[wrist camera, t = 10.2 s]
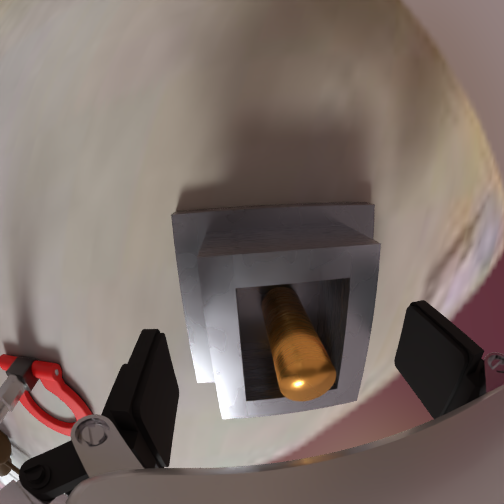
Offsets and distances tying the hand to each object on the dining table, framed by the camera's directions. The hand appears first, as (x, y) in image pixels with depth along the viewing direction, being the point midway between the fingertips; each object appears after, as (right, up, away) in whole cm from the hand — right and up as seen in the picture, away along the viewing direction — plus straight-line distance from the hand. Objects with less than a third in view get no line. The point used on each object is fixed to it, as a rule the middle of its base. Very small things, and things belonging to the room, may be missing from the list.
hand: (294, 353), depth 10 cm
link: (0, +1, +5) cm, 5 cm away
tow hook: (-19, -9, +8) cm, 22 cm away
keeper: (0, +1, +6) cm, 6 cm away
